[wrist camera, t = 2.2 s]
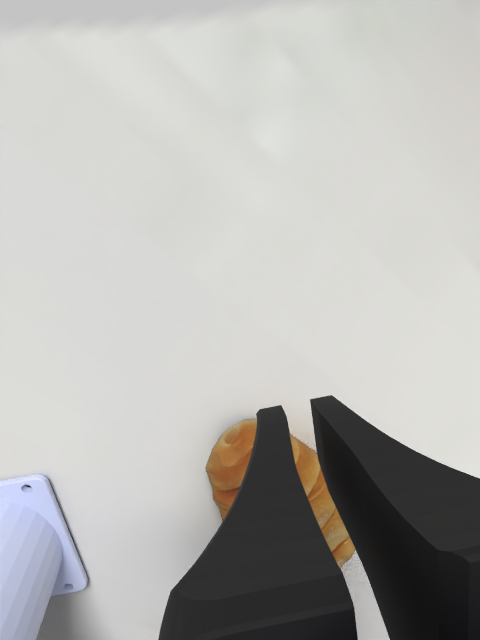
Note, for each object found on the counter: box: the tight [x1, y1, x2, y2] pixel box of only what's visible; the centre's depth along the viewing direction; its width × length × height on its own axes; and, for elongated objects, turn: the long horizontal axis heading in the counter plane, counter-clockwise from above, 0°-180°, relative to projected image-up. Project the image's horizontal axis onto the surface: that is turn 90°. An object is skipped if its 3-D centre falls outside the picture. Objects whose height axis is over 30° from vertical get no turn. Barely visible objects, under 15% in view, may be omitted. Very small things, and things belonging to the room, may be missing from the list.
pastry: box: [206, 419, 355, 569], centre depth 23 cm, size 9×7×4 cm
